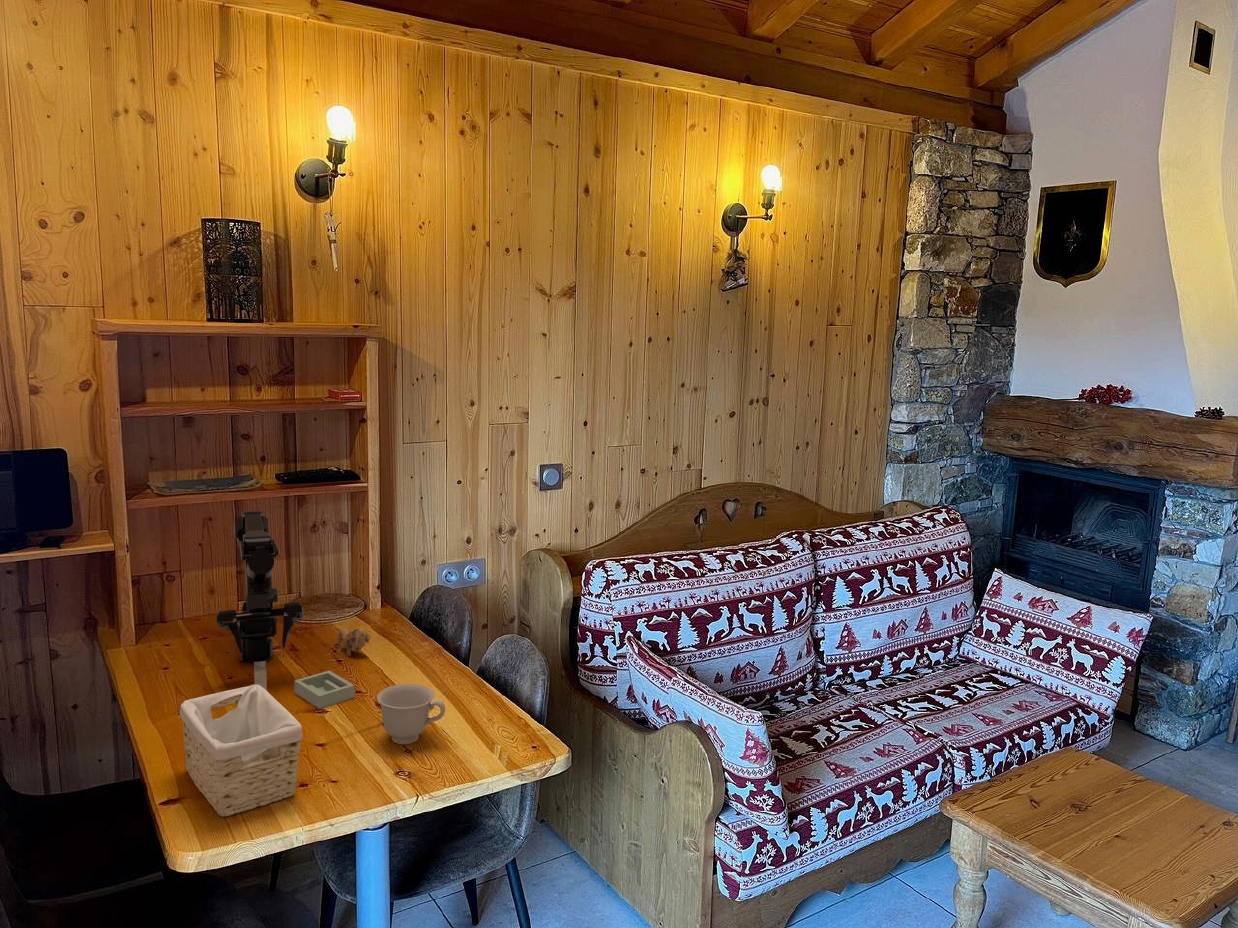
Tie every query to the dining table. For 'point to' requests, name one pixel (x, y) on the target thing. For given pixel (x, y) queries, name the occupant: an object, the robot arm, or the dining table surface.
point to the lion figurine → (352, 640)
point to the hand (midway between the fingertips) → (262, 650)
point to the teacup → (407, 711)
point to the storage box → (324, 689)
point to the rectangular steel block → (260, 674)
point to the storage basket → (241, 749)
